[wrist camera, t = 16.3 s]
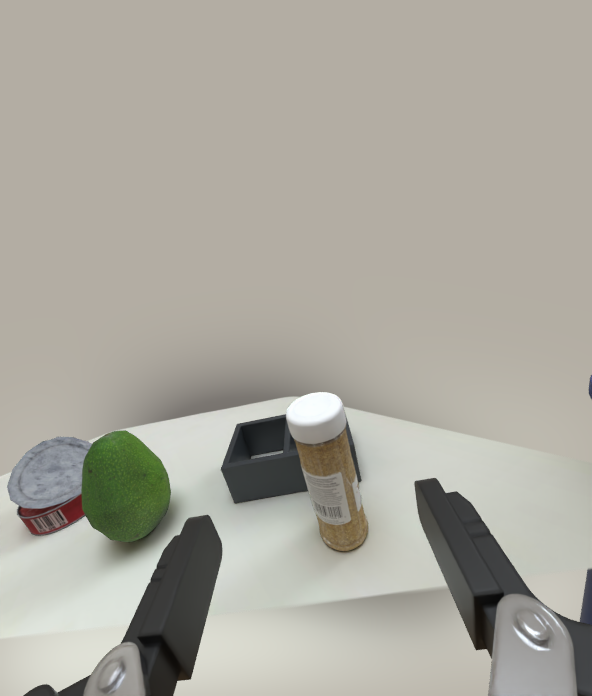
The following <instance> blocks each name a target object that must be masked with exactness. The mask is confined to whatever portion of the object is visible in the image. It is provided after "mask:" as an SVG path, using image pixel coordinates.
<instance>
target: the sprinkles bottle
mask: <svg viewBox="0 0 592 696" xmlns="http://www.w3.org/2000/svg"><path fill="white" fill-rule="evenodd" d="M286 419H287V423H288V427H289V430H290V433H291V435H292V437H293V438H294V441H295V443H296V447H297V450H298V454H299V457H300V462H301V467H302V470H303V474H304V477H305V481H306V484H307V488H308V491H309V495H310V498H311V501H312V505H313V508H314V511H315V513H316V516H317V519H318V522H319V528H320V534H321V537H322V539H323V540H324V542H325V543H326V544H327V545H328V546H330V547H331V548H333V549H336V550H339V551H348V550H352V549H354V548H356V547H358V546H359V545H361V544H362V543H363V541H364V539H365V538H366V535H367V531H368V522H367V519H366V516H365V514H364V511H363V506H362V498H361V493H360V489H359V484H358V480H357V475H356V471H355V467H354V463H353V459H352V456H351V452H350V446H349V442H348V438H347V433H346V416H345V411H344V407H343V404H342V401H341V400H340V398H339V397H337V396H336V395H334V394H331V393H325V392H319V393H311V394H307V395H305V396H302V397H300V398H298V399H297V400H295V401H294V402H292V403H291V404H290V406H289V407H288V409H287V411H286Z"/></svg>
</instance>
